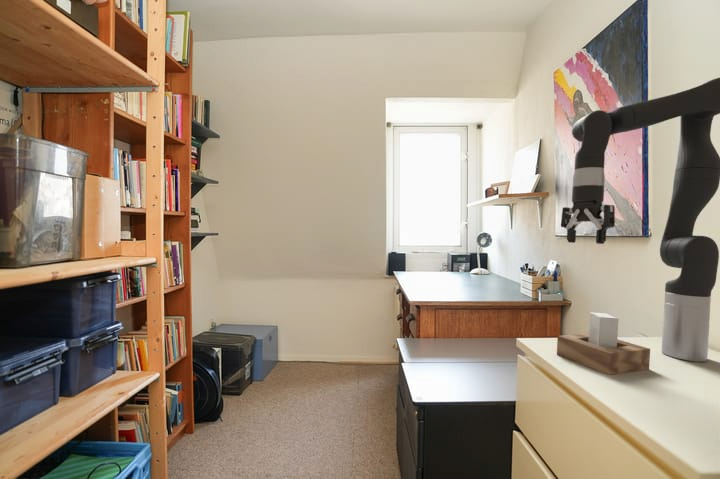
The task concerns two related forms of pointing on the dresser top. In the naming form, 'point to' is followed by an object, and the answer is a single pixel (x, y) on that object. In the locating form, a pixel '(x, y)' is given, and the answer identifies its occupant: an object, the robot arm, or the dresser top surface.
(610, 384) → the dresser top surface
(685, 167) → the robot arm
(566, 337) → the socket block
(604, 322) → the skincare box
